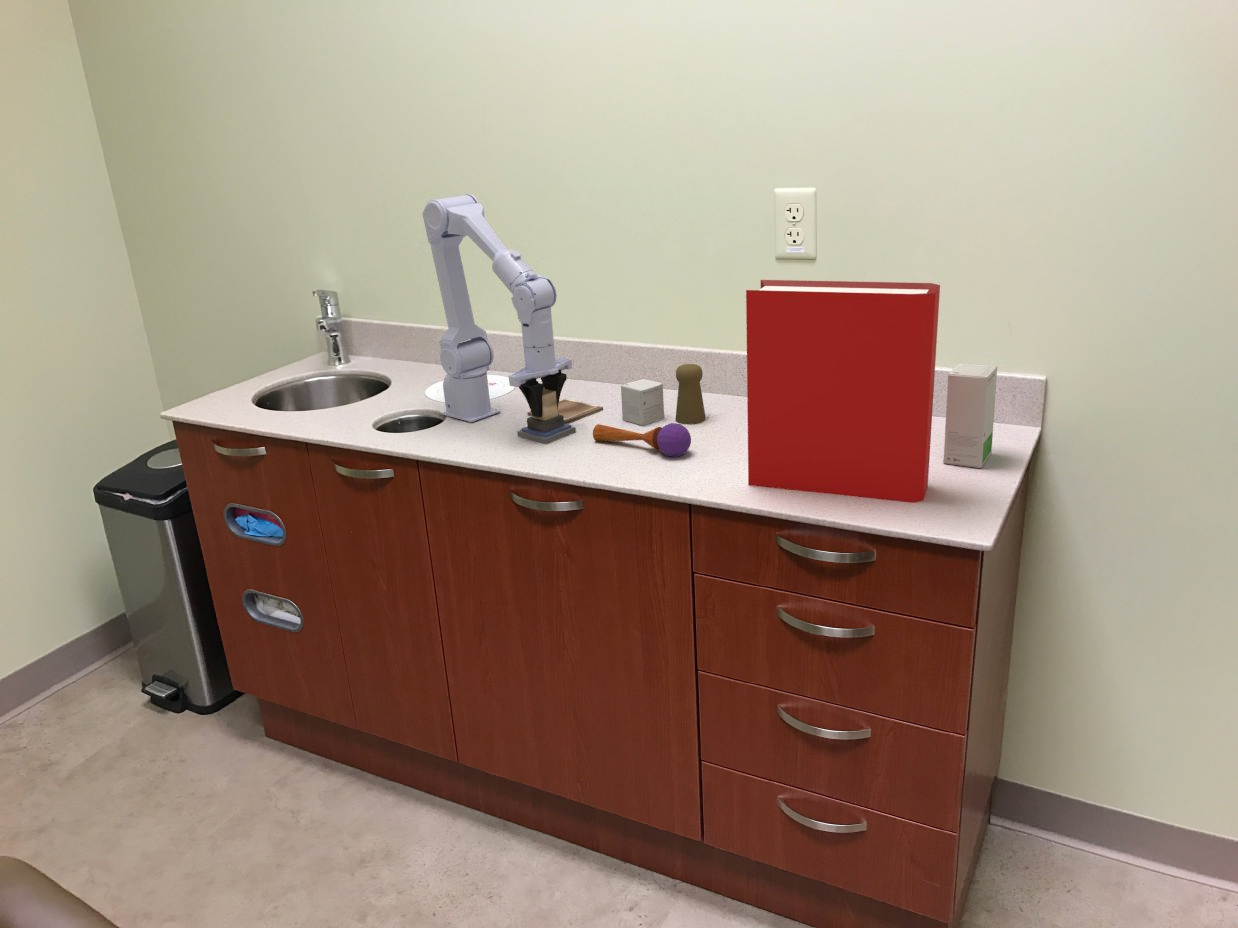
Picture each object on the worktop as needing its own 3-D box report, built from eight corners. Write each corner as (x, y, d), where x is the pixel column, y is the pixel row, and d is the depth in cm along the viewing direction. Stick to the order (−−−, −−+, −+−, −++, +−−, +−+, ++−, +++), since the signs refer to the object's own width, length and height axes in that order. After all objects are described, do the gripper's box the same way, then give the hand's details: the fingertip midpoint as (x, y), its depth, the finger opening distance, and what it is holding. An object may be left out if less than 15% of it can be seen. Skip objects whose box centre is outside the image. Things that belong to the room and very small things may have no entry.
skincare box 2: (980, 469, 157) (988, 378, 152) (939, 463, 161) (945, 373, 155) (992, 452, 164) (1000, 364, 158) (952, 447, 167) (958, 360, 162)
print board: (527, 415, 198) (527, 411, 198) (565, 401, 206) (565, 397, 205) (565, 424, 191) (564, 420, 191) (603, 409, 199) (602, 406, 198)
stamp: (527, 428, 186) (524, 393, 183) (546, 420, 189) (543, 386, 187) (545, 432, 183) (542, 397, 180) (564, 425, 186) (561, 390, 184)
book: (748, 485, 157) (746, 290, 146) (761, 467, 164) (760, 279, 152) (922, 503, 146) (934, 294, 135) (928, 484, 153) (941, 283, 142)
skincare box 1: (642, 426, 188) (640, 390, 185) (621, 420, 192) (619, 385, 189) (665, 418, 191) (663, 383, 189) (644, 412, 196) (642, 377, 193)
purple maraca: (607, 415, 183) (697, 422, 171) (607, 446, 184) (697, 455, 172) (588, 418, 178) (679, 426, 167) (588, 450, 179) (679, 460, 168)
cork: (704, 424, 186) (702, 369, 182) (673, 424, 188) (670, 369, 184) (707, 414, 192) (706, 361, 188) (677, 414, 193) (675, 361, 189)
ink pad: (517, 436, 186) (516, 428, 186) (547, 424, 192) (546, 417, 191) (546, 444, 181) (545, 436, 181) (576, 432, 187) (575, 424, 186)
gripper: (524, 356, 173) (531, 427, 177) (581, 338, 182) (586, 406, 187) (498, 351, 177) (506, 421, 182) (555, 334, 187) (560, 401, 192)
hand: (545, 413), depth 185 cm, fingers closed on stamp, 3 cm apart
